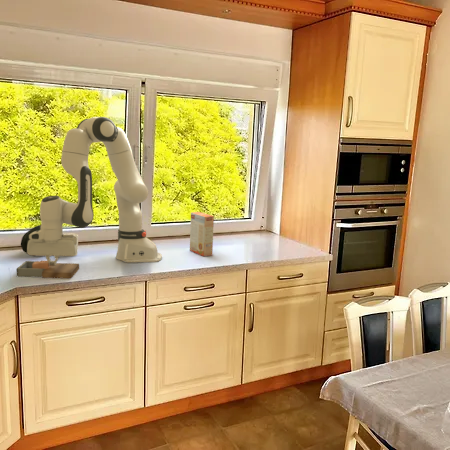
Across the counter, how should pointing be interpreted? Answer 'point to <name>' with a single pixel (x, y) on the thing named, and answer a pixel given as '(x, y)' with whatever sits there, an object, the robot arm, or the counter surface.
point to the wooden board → (61, 271)
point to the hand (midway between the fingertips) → (52, 265)
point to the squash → (26, 237)
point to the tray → (28, 270)
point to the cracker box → (201, 233)
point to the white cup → (75, 236)
